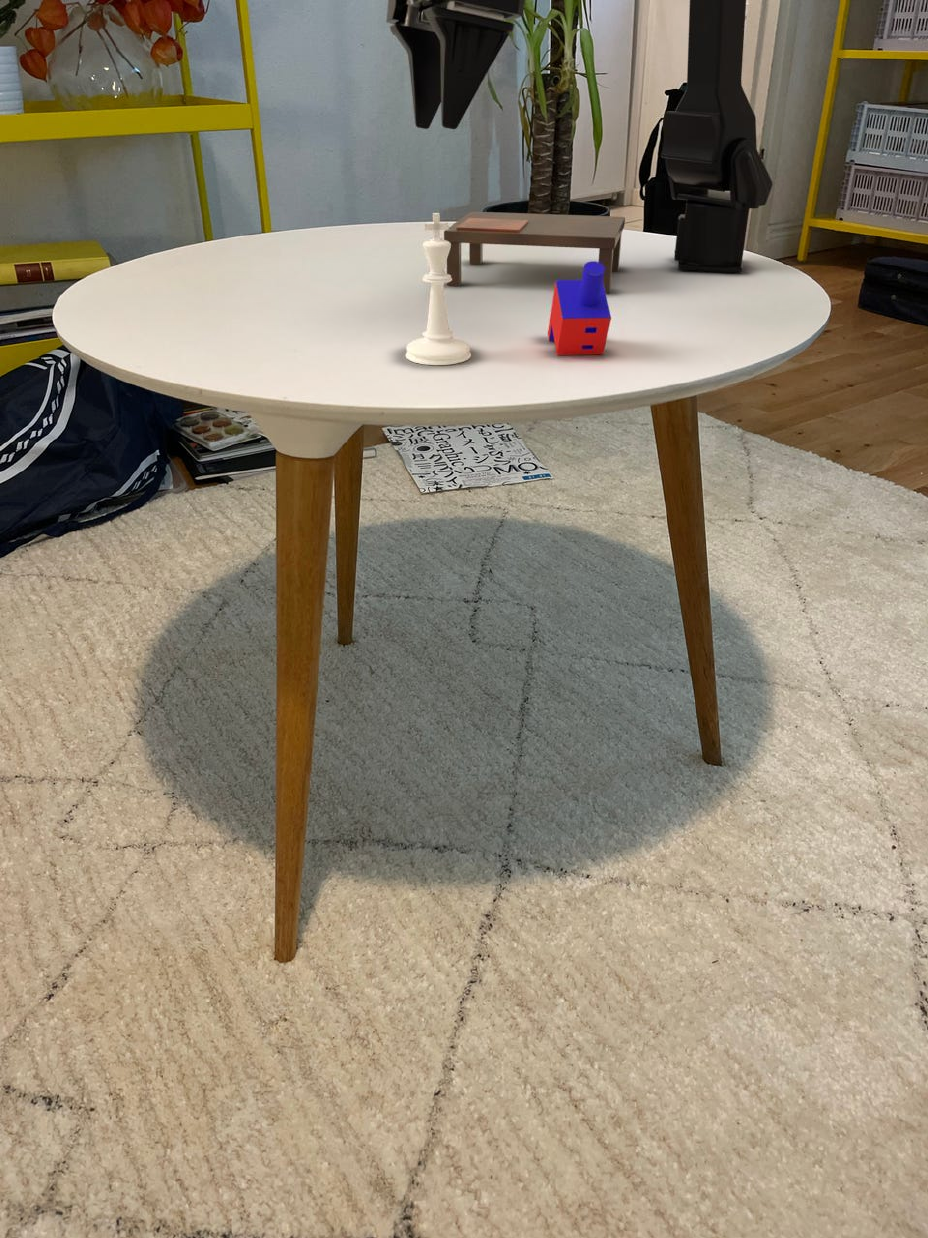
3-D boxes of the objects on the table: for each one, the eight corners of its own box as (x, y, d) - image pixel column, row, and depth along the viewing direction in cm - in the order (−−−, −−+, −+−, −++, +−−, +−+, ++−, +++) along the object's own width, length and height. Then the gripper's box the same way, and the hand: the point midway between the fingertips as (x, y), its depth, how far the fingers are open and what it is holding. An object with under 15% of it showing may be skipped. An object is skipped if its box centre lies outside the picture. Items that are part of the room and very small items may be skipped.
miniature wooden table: (620, 268, 100) (625, 214, 97) (611, 294, 90) (615, 235, 87) (470, 261, 102) (470, 209, 100) (444, 286, 92) (443, 228, 90)
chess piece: (404, 347, 74) (400, 208, 69) (467, 345, 75) (468, 207, 69) (406, 366, 70) (402, 219, 65) (473, 364, 70) (474, 218, 65)
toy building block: (554, 371, 74) (567, 287, 67) (547, 333, 76) (560, 248, 69) (599, 370, 74) (617, 286, 68) (591, 332, 77) (608, 247, 70)
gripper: (334, -115, 74) (317, 111, 81) (377, -181, 58) (351, 107, 65) (471, -81, 77) (444, 134, 84) (547, -135, 61) (506, 135, 68)
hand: (434, 127), depth 75 cm, fingers open, 9 cm apart
